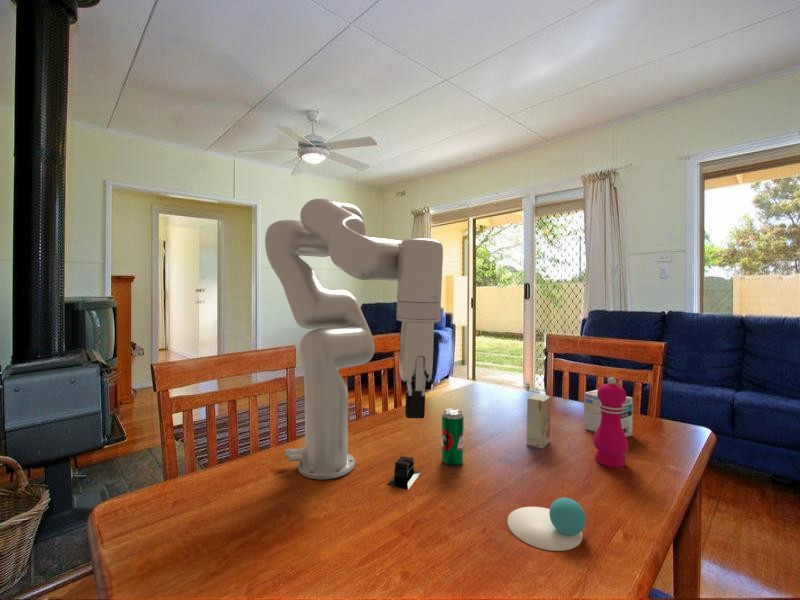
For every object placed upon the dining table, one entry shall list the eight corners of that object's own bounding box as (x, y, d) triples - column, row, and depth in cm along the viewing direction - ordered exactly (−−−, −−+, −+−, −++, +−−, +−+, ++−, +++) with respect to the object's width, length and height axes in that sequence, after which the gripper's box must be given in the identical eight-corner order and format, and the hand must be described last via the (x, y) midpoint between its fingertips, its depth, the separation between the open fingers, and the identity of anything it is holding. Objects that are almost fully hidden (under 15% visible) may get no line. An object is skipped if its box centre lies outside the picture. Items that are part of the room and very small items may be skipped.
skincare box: (542, 449, 100) (543, 401, 100) (525, 445, 103) (526, 398, 102) (550, 441, 105) (551, 395, 105) (534, 437, 108) (534, 393, 107)
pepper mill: (631, 461, 93) (633, 377, 93) (623, 472, 88) (625, 382, 87) (598, 452, 98) (600, 372, 97) (588, 462, 93) (590, 377, 92)
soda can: (462, 468, 90) (463, 415, 89) (440, 466, 91) (440, 414, 90) (463, 458, 95) (464, 408, 94) (442, 456, 96) (442, 407, 95)
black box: (409, 499, 78) (409, 476, 78) (375, 491, 81) (375, 469, 80) (429, 471, 89) (429, 451, 89) (399, 465, 92) (399, 446, 92)
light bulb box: (633, 435, 109) (634, 397, 109) (620, 441, 106) (621, 401, 105) (595, 424, 118) (596, 388, 118) (582, 429, 115) (583, 392, 114)
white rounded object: (524, 553, 61) (524, 551, 61) (497, 509, 73) (497, 508, 73) (597, 548, 62) (597, 547, 62) (560, 506, 74) (560, 505, 74)
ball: (597, 518, 63) (582, 549, 63) (582, 500, 69) (568, 528, 69) (565, 502, 63) (550, 533, 64) (553, 485, 69) (539, 514, 69)
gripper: (394, 307, 75) (391, 402, 76) (399, 316, 60) (395, 434, 61) (433, 308, 75) (429, 402, 77) (448, 317, 61) (443, 434, 62)
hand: (414, 416), depth 69 cm, fingers closed
